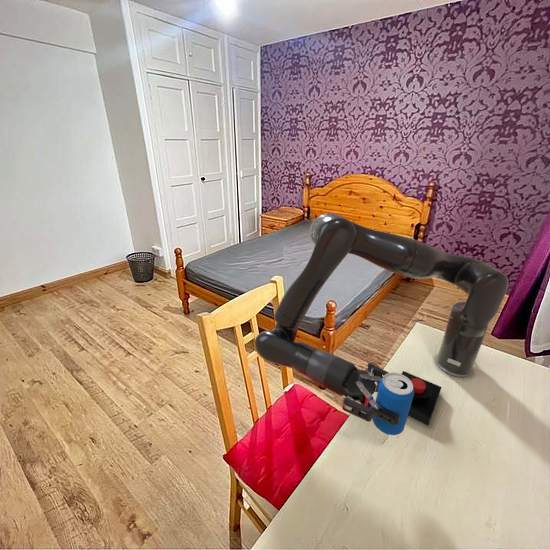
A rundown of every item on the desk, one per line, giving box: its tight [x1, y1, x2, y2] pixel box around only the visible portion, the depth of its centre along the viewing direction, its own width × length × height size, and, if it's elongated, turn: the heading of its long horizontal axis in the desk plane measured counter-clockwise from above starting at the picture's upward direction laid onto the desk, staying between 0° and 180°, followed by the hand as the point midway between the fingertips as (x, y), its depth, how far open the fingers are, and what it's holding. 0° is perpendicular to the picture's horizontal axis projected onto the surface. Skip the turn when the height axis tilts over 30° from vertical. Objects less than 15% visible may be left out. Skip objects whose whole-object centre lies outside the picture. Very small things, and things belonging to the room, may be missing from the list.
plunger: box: [411, 378, 426, 394], centre depth 79 cm, size 4×4×2 cm
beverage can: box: [372, 371, 414, 436], centre depth 63 cm, size 6×6×12 cm
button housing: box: [401, 370, 442, 427], centre depth 80 cm, size 10×12×4 cm
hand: (404, 408), depth 61 cm, fingers closed on beverage can, 6 cm apart
